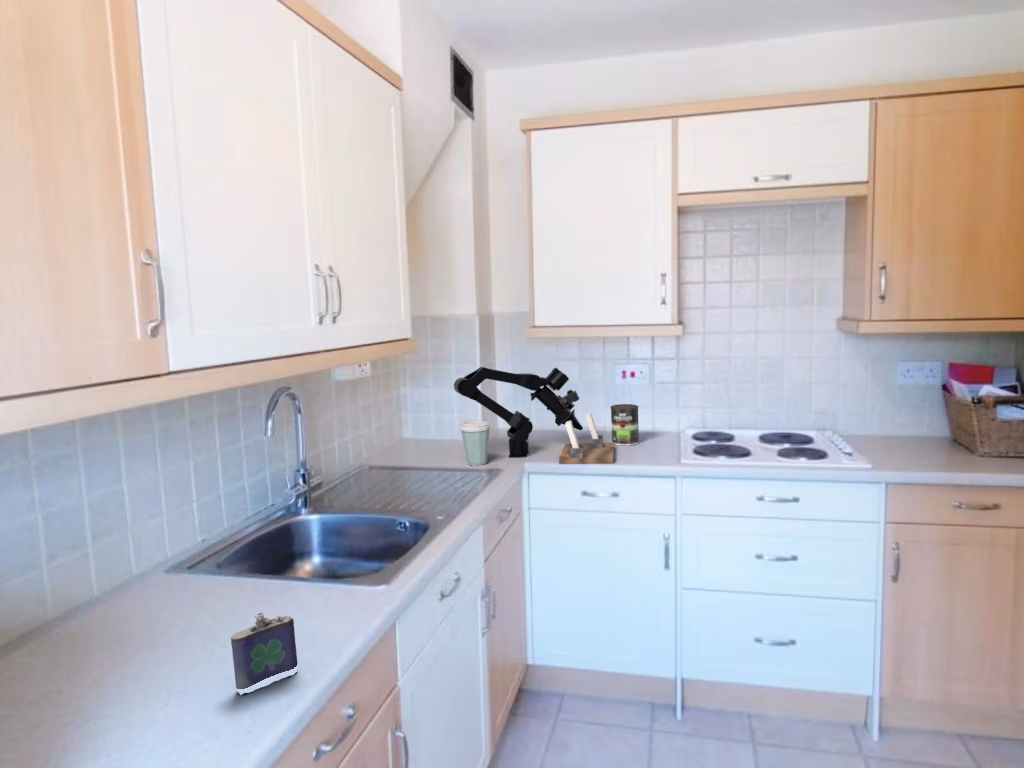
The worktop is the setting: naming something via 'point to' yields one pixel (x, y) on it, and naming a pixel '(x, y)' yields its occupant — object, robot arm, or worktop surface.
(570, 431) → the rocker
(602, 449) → the switch board
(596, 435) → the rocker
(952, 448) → the worktop surface
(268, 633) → the flask
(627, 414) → the coffee can
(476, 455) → the disposable coffee cup
